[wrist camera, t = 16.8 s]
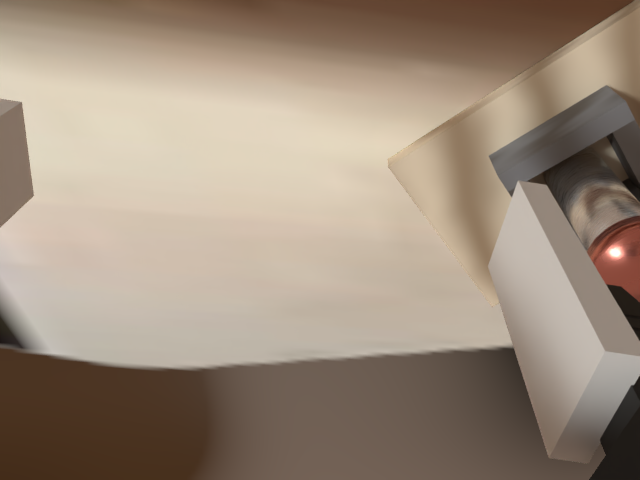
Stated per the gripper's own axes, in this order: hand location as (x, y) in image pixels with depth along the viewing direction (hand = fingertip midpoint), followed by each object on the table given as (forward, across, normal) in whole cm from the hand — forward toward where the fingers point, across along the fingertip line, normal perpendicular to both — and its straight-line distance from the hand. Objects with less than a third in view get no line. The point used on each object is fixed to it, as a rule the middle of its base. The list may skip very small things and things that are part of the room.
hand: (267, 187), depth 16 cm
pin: (+27, +20, -8) cm, 35 cm away
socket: (+29, +20, -8) cm, 36 cm away
